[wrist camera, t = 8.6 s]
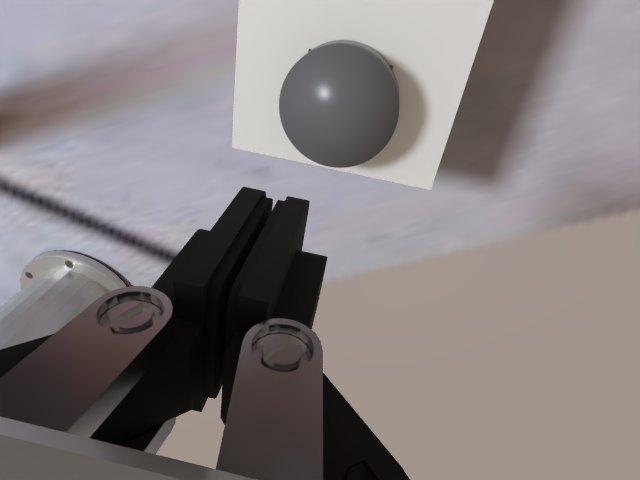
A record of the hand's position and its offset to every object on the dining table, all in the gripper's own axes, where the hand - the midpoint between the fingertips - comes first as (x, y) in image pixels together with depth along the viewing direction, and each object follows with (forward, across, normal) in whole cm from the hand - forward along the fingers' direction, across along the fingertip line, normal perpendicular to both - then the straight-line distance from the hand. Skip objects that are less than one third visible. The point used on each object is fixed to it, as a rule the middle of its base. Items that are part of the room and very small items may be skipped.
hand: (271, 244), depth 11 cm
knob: (+20, 0, 0) cm, 20 cm away
